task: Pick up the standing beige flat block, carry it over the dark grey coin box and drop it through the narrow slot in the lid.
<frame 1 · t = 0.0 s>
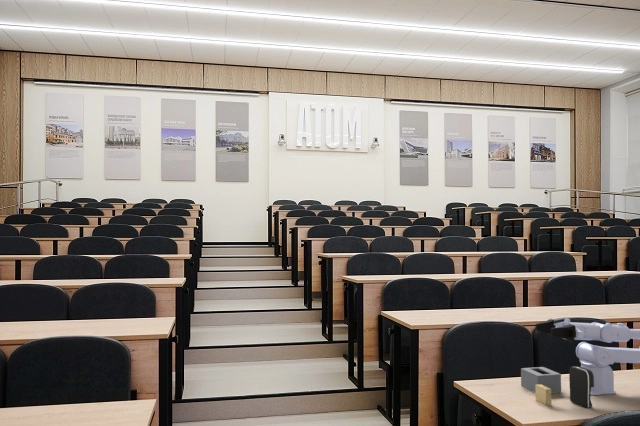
hand: (543, 329, 162), 22 cm above the table, tool horizontal, fingers open, 7 cm apart
coin box: (540, 388, 168), on the table
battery: (582, 405, 153), on the table
beige flat block: (543, 402, 155), on the table
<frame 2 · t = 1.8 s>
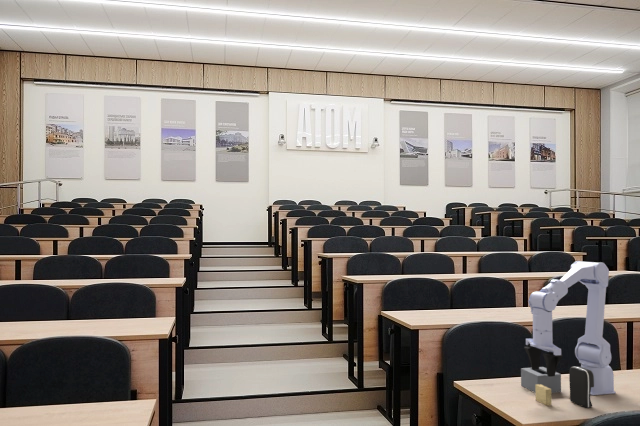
hand: (543, 372, 155), 9 cm above the table, tool pointing down, fingers open, 7 cm apart
nothing on the table moved.
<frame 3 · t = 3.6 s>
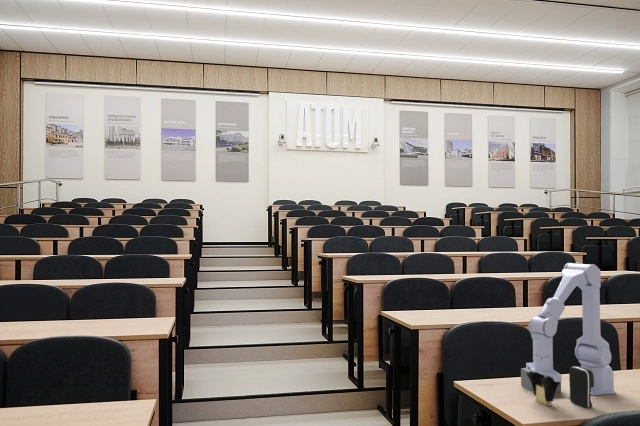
hand: (543, 398, 155), 1 cm above the table, tool pointing down, fingers closed on beige flat block, 5 cm apart
beige flat block: (543, 402, 155), on the table, touching gripper
everything else where it was.
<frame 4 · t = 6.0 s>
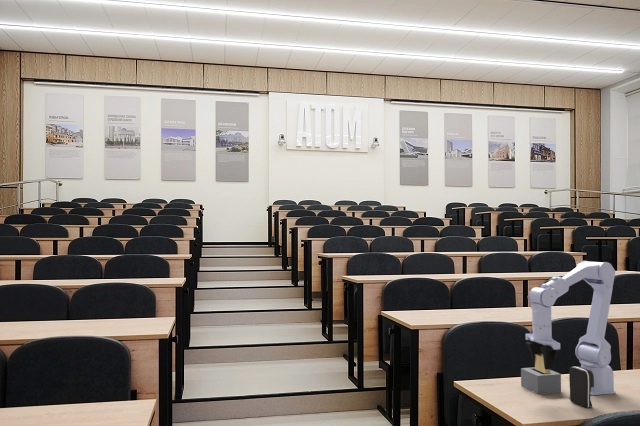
hand: (542, 366, 159), 10 cm above the table, tool pointing down, fingers closed on beige flat block, 5 cm apart
beige flat block: (542, 371, 159), point 9 cm above the table, touching gripper
everything else where it was.
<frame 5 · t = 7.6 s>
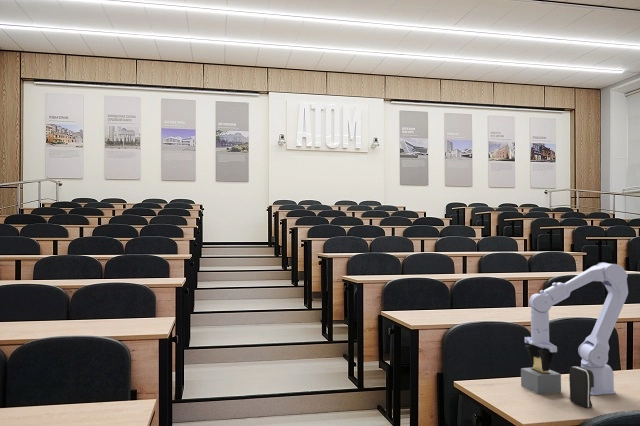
hand: (540, 368, 168), 7 cm above the table, tool pointing down, fingers closed on beige flat block, 5 cm apart
beige flat block: (540, 372, 168), point 6 cm above the table, touching gripper
everything else where it was.
when the fingers open (7 cm above the table, at t = 8.8 s): beige flat block drops 5 cm, resting on coin box.
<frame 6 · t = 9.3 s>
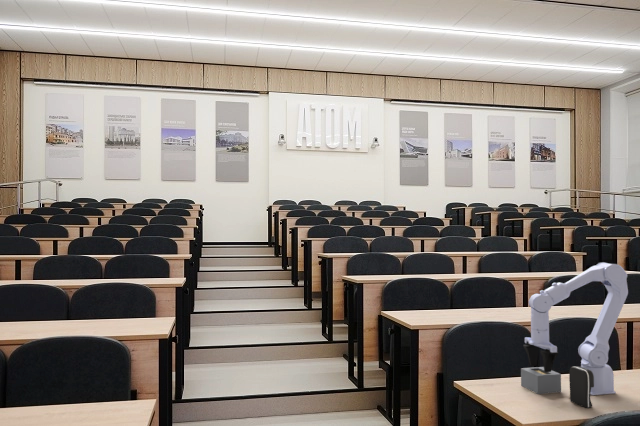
hand: (540, 368, 168), 7 cm above the table, tool pointing down, fingers open, 7 cm apart
beige flat block: (540, 387, 168), point 1 cm above the table, touching coin box
everything else where it was.
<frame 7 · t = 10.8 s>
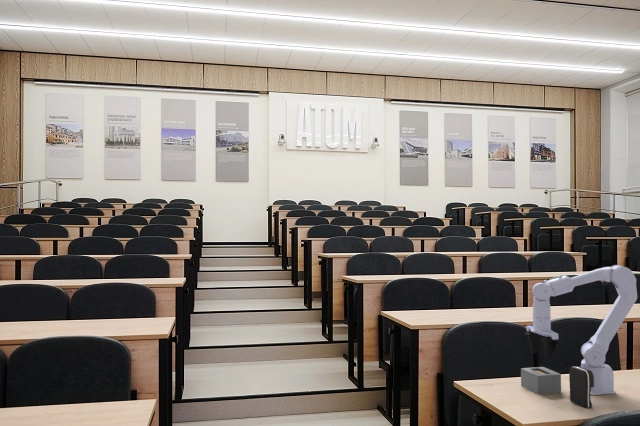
hand: (542, 355, 172), 10 cm above the table, tool pointing down, fingers open, 7 cm apart
nothing on the table moved.
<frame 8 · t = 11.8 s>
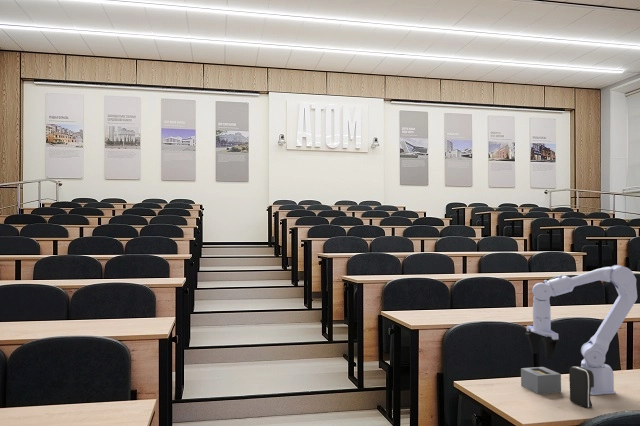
hand: (542, 355, 172), 10 cm above the table, tool pointing down, fingers open, 7 cm apart
nothing on the table moved.
at the end: beige flat block 0.0 cm off-centre on the coin box, point 0.5 cm above the coin box's base; the gripper is holding nothing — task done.
